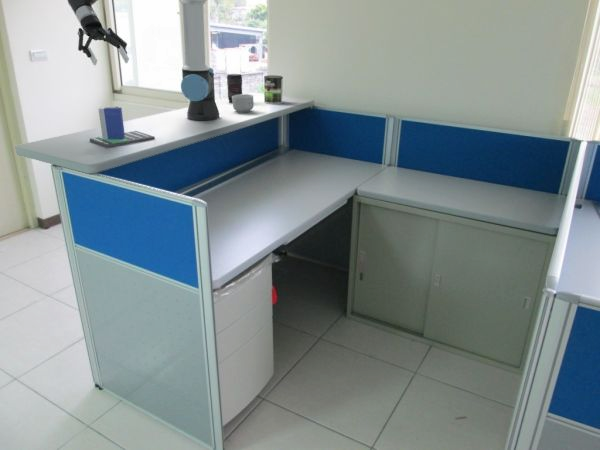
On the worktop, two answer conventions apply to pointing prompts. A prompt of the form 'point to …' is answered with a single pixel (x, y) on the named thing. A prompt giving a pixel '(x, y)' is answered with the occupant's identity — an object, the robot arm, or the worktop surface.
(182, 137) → the worktop surface
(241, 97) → the teacup
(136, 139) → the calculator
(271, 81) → the coffee can
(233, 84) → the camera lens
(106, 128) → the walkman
